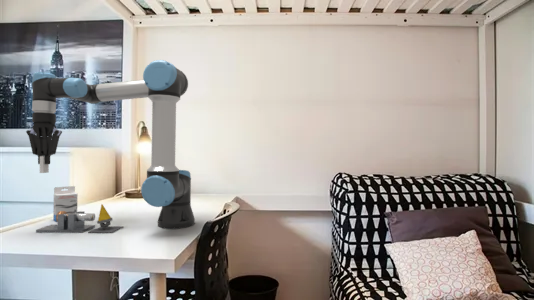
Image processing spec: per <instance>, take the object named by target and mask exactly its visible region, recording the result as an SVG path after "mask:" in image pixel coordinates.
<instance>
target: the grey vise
mask: <svg viewBox="0 0 534 300" xmlns="http://www.w3.org/2000/svg"><path fill="white" fill-rule="evenodd" d="M66 213H75V211H69V212H66ZM76 213H85V211H82V210H80V211H77V212H76ZM85 222H86V221H77V214H69V215H68V221H66V214H58V222H57V224H49V225H46V226H43V227H41V228H40V227H39V228H37V229H35V233H55V234H56V233H61V234H63V233H65V234H66V233H67V234H68V233H69V234H71V233H72V234H73V233H76V234H77V233H78V234H79V233H80V234H83V233H85V232H87V231H88V232H89V231H91V230H94V229H96V224H85Z"/></svg>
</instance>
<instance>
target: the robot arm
mask: <svg viewBox="0 0 534 300" xmlns="http://www.w3.org/2000/svg"><path fill="white" fill-rule="evenodd" d="M31 85H32V87H31V89H32V102H31V103H32V107H31V110H32V114H31V115H32V116H31V118H32V119H31V121H32V123H33V125H32V128H31V129H27V130H26V131H25V132H26V134H27V136H28V139H29V144H30V147H31V151H32V154H33V155H35V156H37V164H38V165H39V174H47V173H49V168H50V167H49V165H50V164H51V156H53V155H56V153H57V149H58V145H59V141H60V140H59V139H60V136H61V135H62V133H63V130H59V129H58V128H57V126H56V123H57V115H56V112H57V110H56V109H57V104H56V103H57V99H61V98H63V99H64V98H65V99H70V100H71V99H72V100H77V101H81V102H83V103H84V102H85V103H87V104H88V103H89V104H91V105H92V104H93V105H94V104H95V105H99V104H102V103H103V102H114V101H122V100H130V99H131V100H134V99H144V98H146V99H147V98H148V99H149V101H151V102H152V105H151V106H152V109H151V110H152V111H151V112H152V113H151V115H152V116H151V117H152V119H151V165H150V167H148V168H147V169H146V179H145V180H144V181H143V182H142V184H141V188H140V193H141V196H142V198H143V199H144V201H145V202H146V203H147V204H148V205H149V206H152V207H156V208H160V207H161V208H160V213H159V215H158V218H157V227H159V228H161V229H168V230H169V229H172V230H173V229H183V228H187V227H188V228H189V227H192V226H194V225H196V223H195V222H196V219H195V215H194V212H193V208H192V205H191V200H192V197H191V193H192V191H191V190H192V189H191V187H192V185H191V184H192V183H191V182H192V181H191V180H192V177H191V171H189V170H185V169H179V168H178V167H177V166H176V141H177V140H176V136H177V133H176V131H177V128H176V126H177V113H176V112H177V103H178V102H179V101H180V100H181V96H183V95H185V93H186V92H187V91H188V88H189V80H188V78H187V75H186V74H185V73H184V72H183V71H182V70H180V69H179V68H177V67H176V66H175V65H174V64H173V63H172V62H169V61H166V60H164V59H156V60H153V61H151V62H150V63H149V64H147V65H146V67H145V68H144V70H143V75H142V79H137V80H126V81H125V80H124V81H117V82H108V83H107V82H105V83H98V84H96V83H95V84H89V83H86V82H85V81H84V79H83V78H80V77H65V78H64V77H60V78H59V77H58V78H57V76H56V75H55V74H54V73H49V72H45V71H44V72H41V71H38V72H34V73H33V75H32V81H31Z"/></svg>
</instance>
